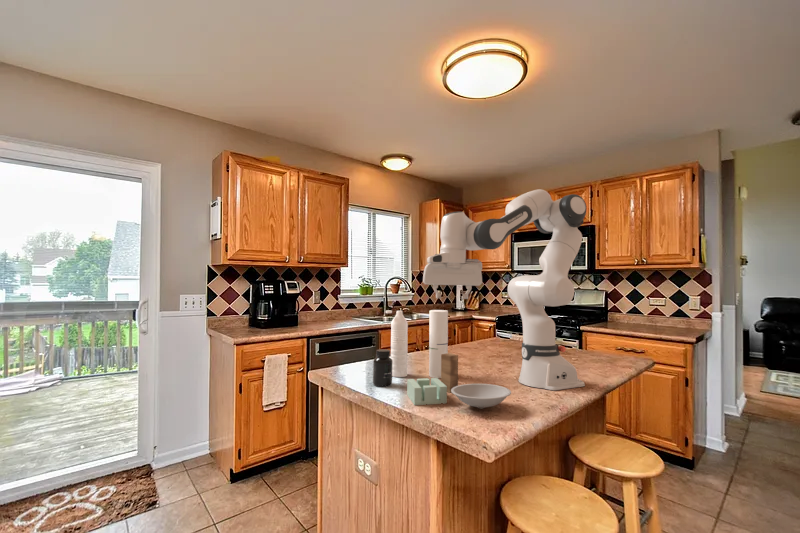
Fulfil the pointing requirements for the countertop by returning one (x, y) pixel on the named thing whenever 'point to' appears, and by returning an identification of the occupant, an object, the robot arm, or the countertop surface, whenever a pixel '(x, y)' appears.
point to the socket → (426, 391)
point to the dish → (481, 394)
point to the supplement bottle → (382, 368)
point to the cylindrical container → (437, 340)
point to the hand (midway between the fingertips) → (452, 298)
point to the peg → (449, 370)
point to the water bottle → (399, 344)
